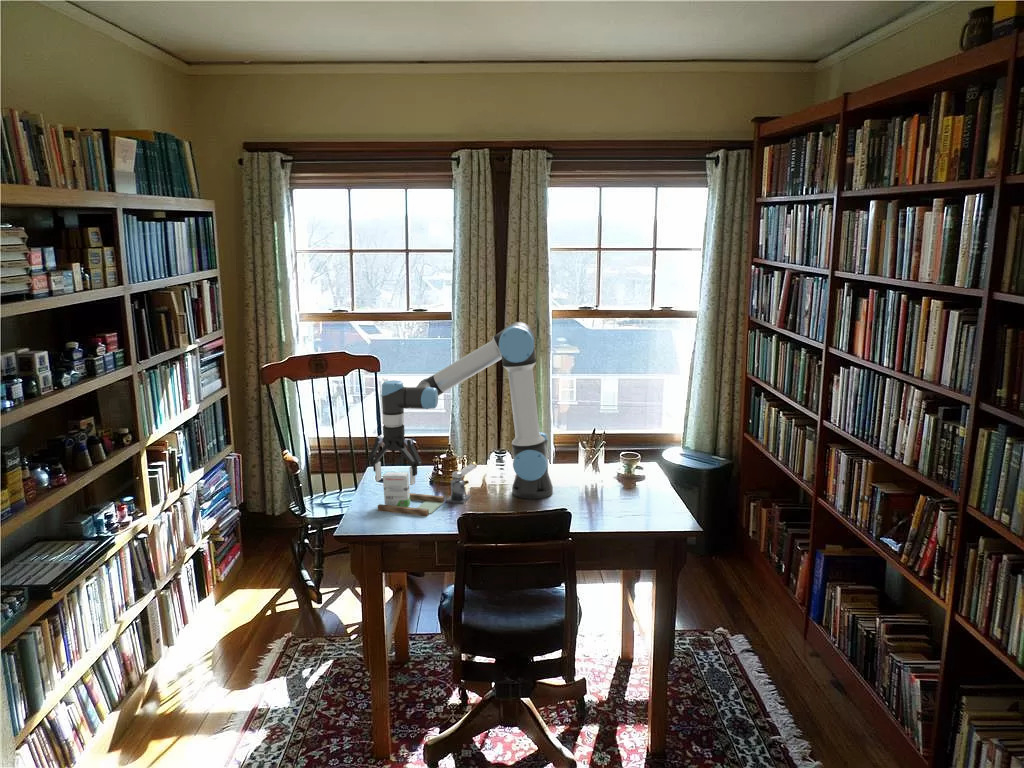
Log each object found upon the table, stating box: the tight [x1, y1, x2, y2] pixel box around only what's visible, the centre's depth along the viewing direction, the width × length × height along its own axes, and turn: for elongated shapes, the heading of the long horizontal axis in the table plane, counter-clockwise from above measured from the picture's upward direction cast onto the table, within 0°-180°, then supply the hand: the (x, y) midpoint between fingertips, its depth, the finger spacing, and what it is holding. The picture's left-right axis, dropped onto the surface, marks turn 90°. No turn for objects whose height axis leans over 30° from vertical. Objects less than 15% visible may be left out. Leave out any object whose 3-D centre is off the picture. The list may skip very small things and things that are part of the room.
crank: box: [451, 461, 478, 480], centre depth 285 cm, size 16×4×2 cm, turn 157°
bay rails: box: [377, 492, 445, 517], centre depth 275 cm, size 19×15×2 cm
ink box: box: [382, 471, 411, 507], centre depth 276 cm, size 9×5×12 cm, turn 85°
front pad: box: [416, 501, 444, 515], centre depth 273 cm, size 7×11×1 cm, turn 161°
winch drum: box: [445, 478, 472, 504], centre depth 280 cm, size 7×7×8 cm
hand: (395, 482), depth 275 cm, fingers open, 13 cm apart
